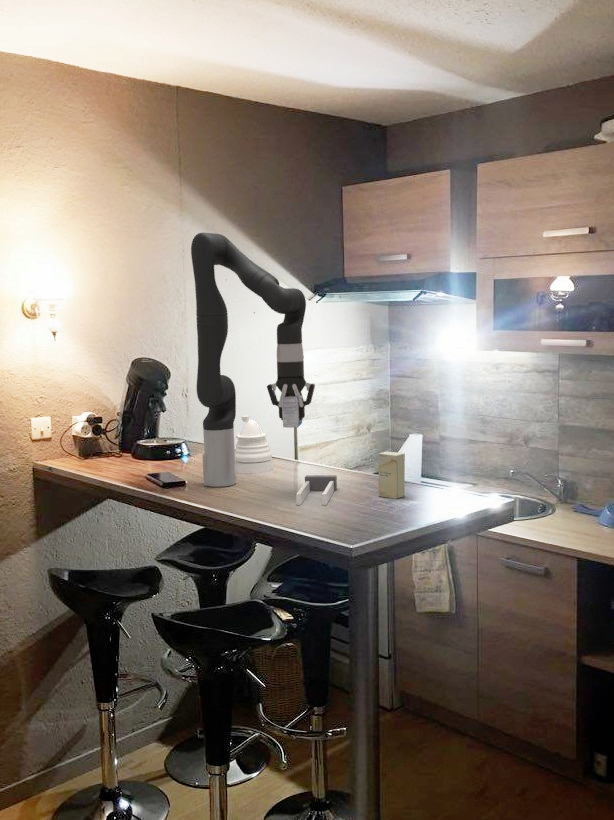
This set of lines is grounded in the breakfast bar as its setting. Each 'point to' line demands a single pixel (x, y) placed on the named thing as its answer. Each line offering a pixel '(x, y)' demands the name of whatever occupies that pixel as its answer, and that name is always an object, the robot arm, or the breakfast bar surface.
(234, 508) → the breakfast bar surface
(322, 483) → the channel
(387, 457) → the skincare box
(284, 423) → the medicine box
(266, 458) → the honey pot
